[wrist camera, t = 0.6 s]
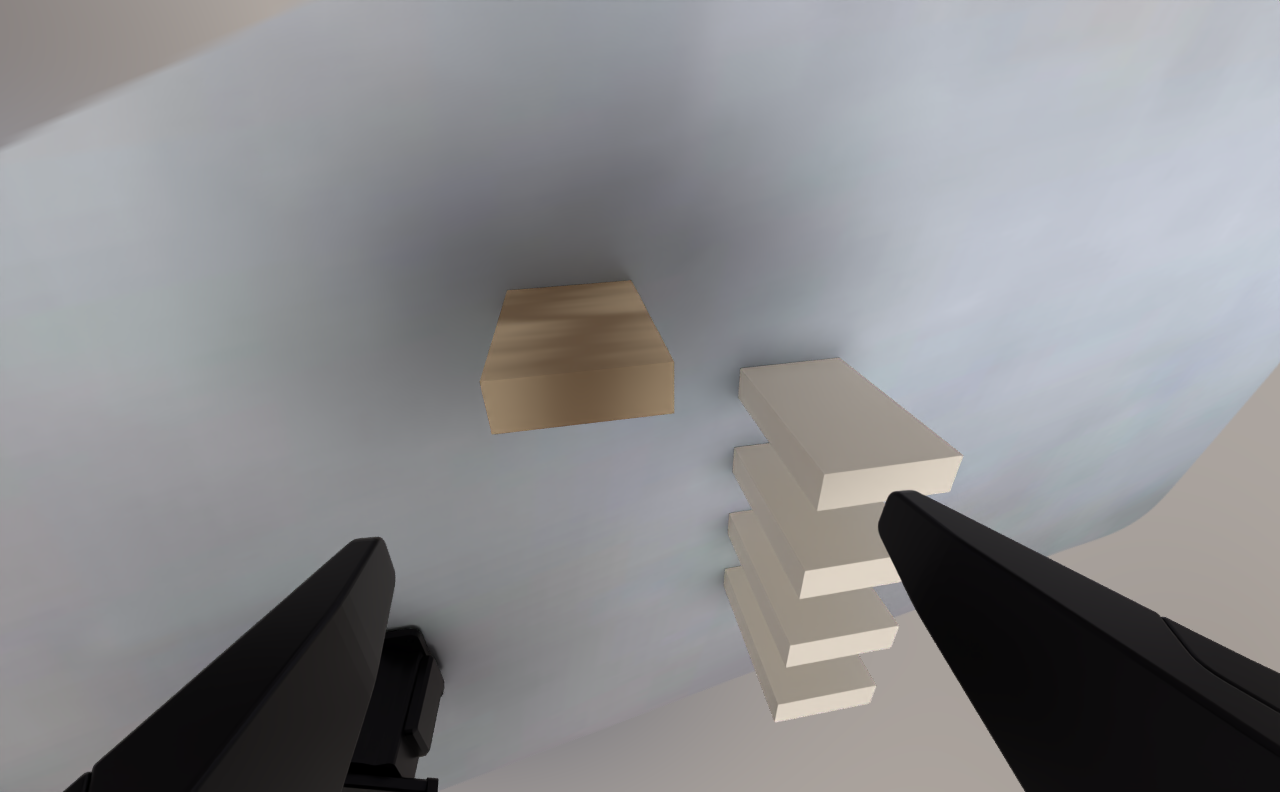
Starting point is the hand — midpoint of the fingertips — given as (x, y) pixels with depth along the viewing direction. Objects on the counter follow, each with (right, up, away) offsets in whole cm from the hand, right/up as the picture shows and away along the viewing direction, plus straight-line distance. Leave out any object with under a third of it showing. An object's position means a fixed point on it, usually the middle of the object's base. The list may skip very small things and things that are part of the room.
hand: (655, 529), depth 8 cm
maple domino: (-3, +6, +11) cm, 13 cm away
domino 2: (+7, -1, +17) cm, 18 cm away
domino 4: (+8, -9, +21) cm, 24 cm away
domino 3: (+7, -5, +19) cm, 21 cm away
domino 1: (+7, +3, +14) cm, 16 cm away
